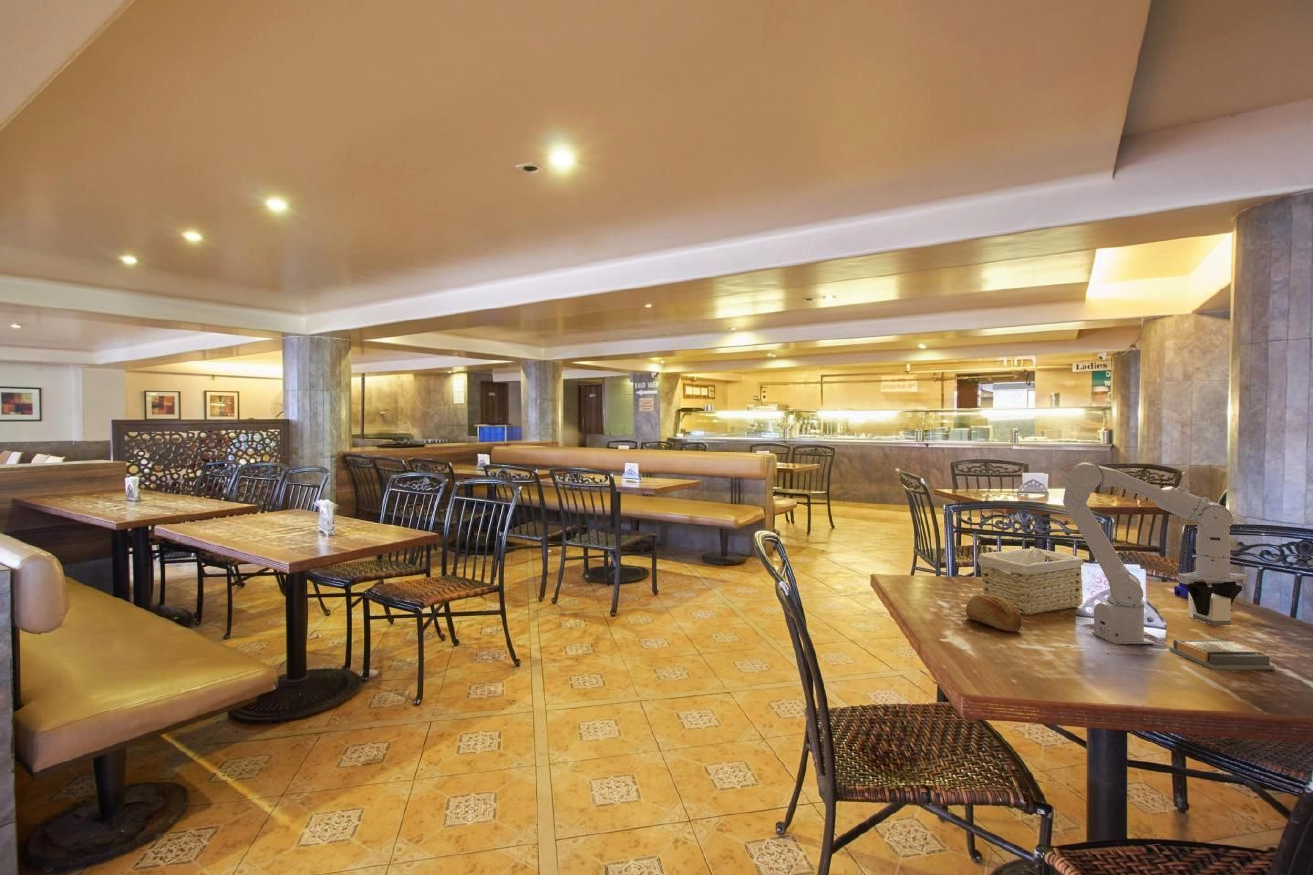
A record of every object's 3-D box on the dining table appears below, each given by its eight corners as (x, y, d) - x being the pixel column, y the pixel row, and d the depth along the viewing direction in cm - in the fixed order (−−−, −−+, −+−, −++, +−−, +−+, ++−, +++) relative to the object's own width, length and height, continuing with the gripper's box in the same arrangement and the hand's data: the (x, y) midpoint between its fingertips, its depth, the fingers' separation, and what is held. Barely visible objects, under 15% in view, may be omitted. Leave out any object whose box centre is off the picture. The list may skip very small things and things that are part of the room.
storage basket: (1024, 617, 163) (1024, 564, 163) (975, 601, 178) (975, 552, 178) (1086, 608, 171) (1087, 557, 170) (1034, 593, 186) (1034, 546, 186)
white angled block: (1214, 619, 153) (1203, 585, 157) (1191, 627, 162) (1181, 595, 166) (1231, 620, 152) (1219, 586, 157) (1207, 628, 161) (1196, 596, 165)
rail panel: (1213, 669, 128) (1213, 656, 128) (1169, 650, 139) (1169, 638, 139) (1274, 669, 128) (1274, 656, 128) (1225, 649, 139) (1225, 638, 139)
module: (1213, 625, 134) (1213, 598, 134) (1193, 618, 139) (1193, 592, 139) (1230, 625, 134) (1230, 598, 134) (1209, 618, 140) (1210, 592, 139)
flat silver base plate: (1207, 656, 130) (1207, 651, 130) (1183, 645, 136) (1183, 641, 136) (1257, 655, 130) (1257, 651, 130) (1231, 645, 136) (1231, 641, 136)
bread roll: (1004, 637, 148) (1004, 605, 147) (955, 619, 162) (955, 590, 161) (1032, 632, 151) (1032, 601, 151) (981, 615, 165) (981, 586, 165)
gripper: (1197, 559, 132) (1197, 620, 133) (1261, 559, 133) (1261, 619, 133) (1170, 552, 140) (1169, 610, 140) (1230, 552, 140) (1230, 609, 140)
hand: (1212, 614), depth 137 cm, fingers closed on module, 4 cm apart
